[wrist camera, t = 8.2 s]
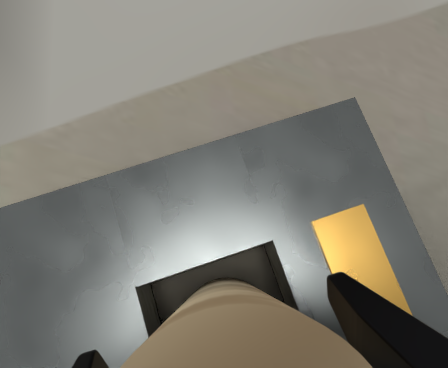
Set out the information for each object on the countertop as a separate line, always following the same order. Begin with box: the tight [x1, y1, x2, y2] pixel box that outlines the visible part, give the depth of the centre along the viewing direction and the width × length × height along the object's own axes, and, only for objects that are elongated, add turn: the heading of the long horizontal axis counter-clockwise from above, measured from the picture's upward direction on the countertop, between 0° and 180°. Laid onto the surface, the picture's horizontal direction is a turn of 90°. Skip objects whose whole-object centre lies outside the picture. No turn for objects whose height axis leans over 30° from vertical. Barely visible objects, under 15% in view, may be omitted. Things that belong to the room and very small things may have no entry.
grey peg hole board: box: [0, 97, 448, 368], centre depth 15 cm, size 16×18×3 cm
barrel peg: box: [120, 278, 373, 368], centre depth 10 cm, size 4×4×12 cm
